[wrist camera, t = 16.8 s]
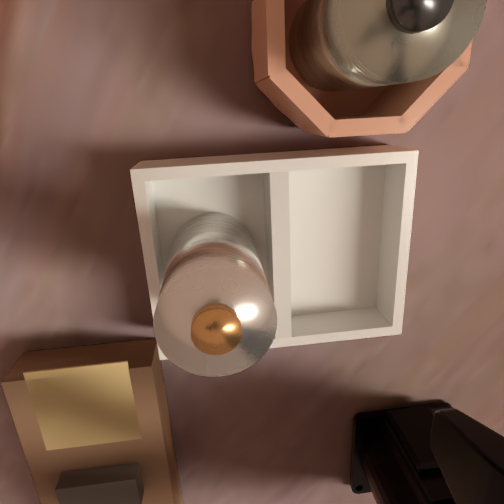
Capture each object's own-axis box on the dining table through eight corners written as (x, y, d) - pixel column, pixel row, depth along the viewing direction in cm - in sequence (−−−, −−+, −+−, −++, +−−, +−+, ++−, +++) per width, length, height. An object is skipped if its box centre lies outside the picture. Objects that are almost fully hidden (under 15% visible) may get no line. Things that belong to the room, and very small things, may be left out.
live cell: (256, 285, 20) (281, 379, 13) (177, 292, 20) (160, 393, 13) (252, 209, 19) (277, 268, 12) (167, 215, 18) (141, 280, 11)
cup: (403, 124, 19) (460, 129, 15) (255, 133, 18) (270, 141, 14) (417, -56, 16) (491, -113, 12) (246, -53, 16) (261, -113, 12)
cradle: (186, 521, 26) (183, 580, 23) (78, 537, 26) (60, 599, 23) (156, 331, 21) (147, 372, 18) (21, 345, 21) (-13, 389, 17)
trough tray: (378, 307, 22) (401, 333, 20) (165, 329, 21) (159, 360, 19) (389, 144, 19) (418, 150, 17) (140, 160, 18) (129, 169, 16)
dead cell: (378, 87, 18) (490, 74, 11) (291, 95, 17) (347, 87, 10) (381, -17, 16) (513, -111, 9) (286, -10, 16) (347, -102, 9)
